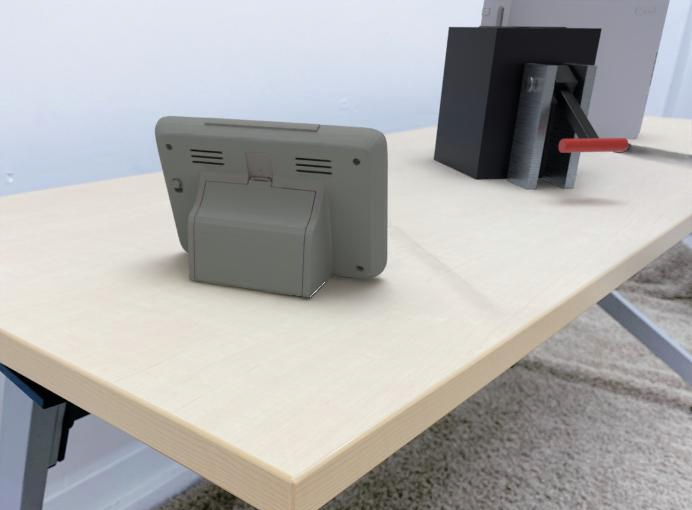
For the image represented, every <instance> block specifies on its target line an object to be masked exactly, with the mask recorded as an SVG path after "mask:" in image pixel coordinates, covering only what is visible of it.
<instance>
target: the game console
mask: <svg viewBox="0 0 692 510" xmlns="http://www.w3.org/2000/svg"><path fill="white" fill-rule="evenodd" d="M670 1H671V0H483V4H482V5H483V6H482V9H481V22H480V25H479V26H511V27H513V26H531V27H567V28H602V30H601V35H600V40H599V46H598V51H597V56H596V61H595V66H597V71H596V76H595V81H594V86H593V92H592V97H591V102H590V107H589V112H588V117H587V118H588V120H589V122H590V123H591V125H592V127H593V128H594V130H595V132H596V133H597V135H598V137H599V138H626V139H627V141H629V140H636V138H637V137H638V136H639V134H640V133H641V129H642V124H643V120H644V115H645V111H646V106H647V103H648V100H649V99H648V98H649V94H650V91H651V85H652V80H653V76H654V72H655V68H656V64H657V58H658V54H659V50H660V46H661V41H662V37H663V31H664V28H665V23H666V19H667V15H668V10H669V6H670ZM630 146H631V143H629V142H628V147H627V149H628V148H629V147H630ZM627 149H626V150H625V151H624V152H626V151H627Z"/></svg>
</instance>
